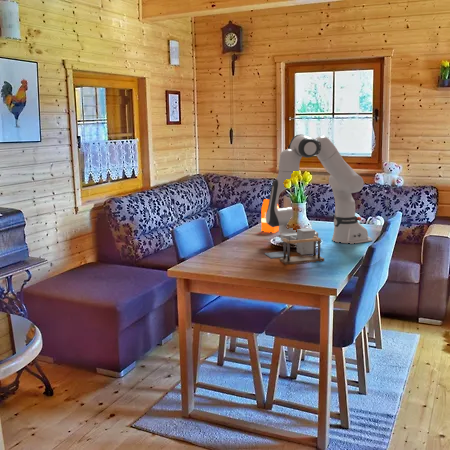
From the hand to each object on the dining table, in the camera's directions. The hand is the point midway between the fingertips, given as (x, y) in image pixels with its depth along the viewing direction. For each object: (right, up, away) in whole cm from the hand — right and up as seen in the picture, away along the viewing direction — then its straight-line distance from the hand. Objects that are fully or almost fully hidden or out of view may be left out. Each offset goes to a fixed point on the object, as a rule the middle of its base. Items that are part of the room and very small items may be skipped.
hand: (304, 239), depth 288 cm
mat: (-15, -8, -4) cm, 18 cm away
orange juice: (-13, +3, +57) cm, 58 cm away
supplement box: (0, -7, 0) cm, 7 cm away
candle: (+3, +7, +71) cm, 72 cm away
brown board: (-4, -10, -15) cm, 18 cm away
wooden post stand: (-4, -9, -15) cm, 18 cm away
